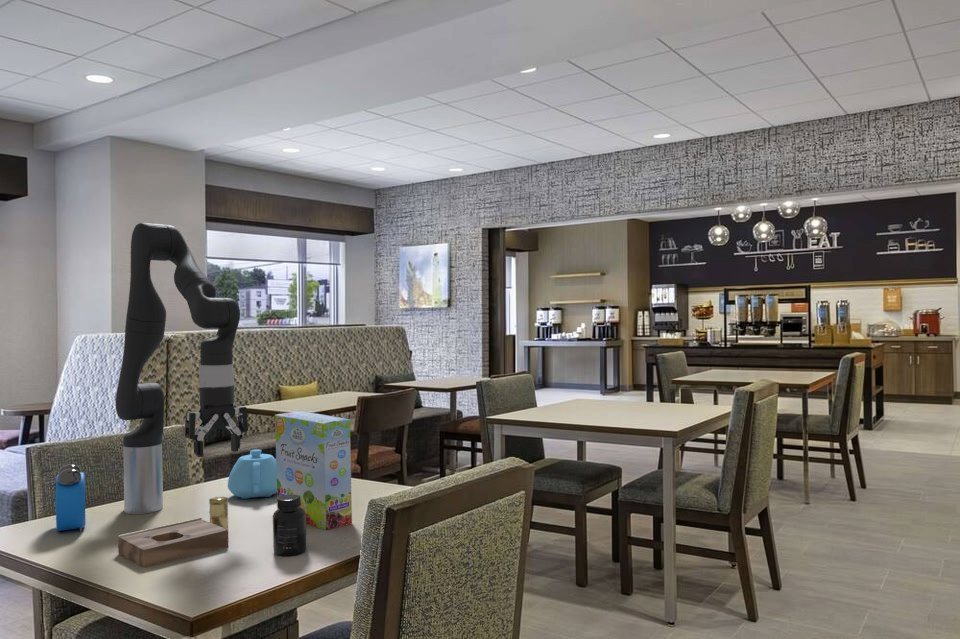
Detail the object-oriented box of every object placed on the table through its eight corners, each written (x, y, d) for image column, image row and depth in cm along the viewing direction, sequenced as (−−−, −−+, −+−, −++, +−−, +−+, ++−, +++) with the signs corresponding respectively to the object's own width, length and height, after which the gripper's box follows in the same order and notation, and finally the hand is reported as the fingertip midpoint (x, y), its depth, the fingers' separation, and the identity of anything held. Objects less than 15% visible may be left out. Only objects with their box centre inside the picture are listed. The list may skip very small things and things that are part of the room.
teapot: (228, 488, 214) (228, 445, 214) (299, 483, 220) (298, 441, 220) (226, 505, 195) (226, 458, 195) (303, 499, 201) (303, 453, 201)
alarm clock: (85, 534, 170) (84, 470, 170) (55, 538, 167) (53, 473, 167) (85, 520, 182) (84, 460, 182) (56, 524, 179) (55, 463, 179)
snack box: (273, 515, 185) (272, 413, 185) (303, 508, 191) (302, 410, 191) (324, 532, 170) (322, 421, 170) (354, 524, 176) (353, 417, 176)
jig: (118, 555, 155) (118, 535, 155) (200, 536, 168) (200, 517, 168) (143, 569, 146) (143, 548, 146) (228, 548, 159) (228, 528, 159)
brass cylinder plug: (206, 533, 170) (206, 499, 170) (223, 529, 173) (222, 495, 173) (215, 537, 167) (214, 502, 167) (231, 533, 170) (231, 498, 170)
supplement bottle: (276, 549, 158) (276, 493, 158) (308, 547, 159) (308, 492, 159) (270, 559, 151) (269, 501, 151) (303, 558, 152) (303, 500, 152)
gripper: (237, 380, 177) (237, 447, 177) (179, 385, 167) (179, 456, 167) (253, 382, 172) (253, 451, 172) (194, 387, 161) (194, 461, 162)
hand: (217, 454), depth 169 cm, fingers open, 8 cm apart
